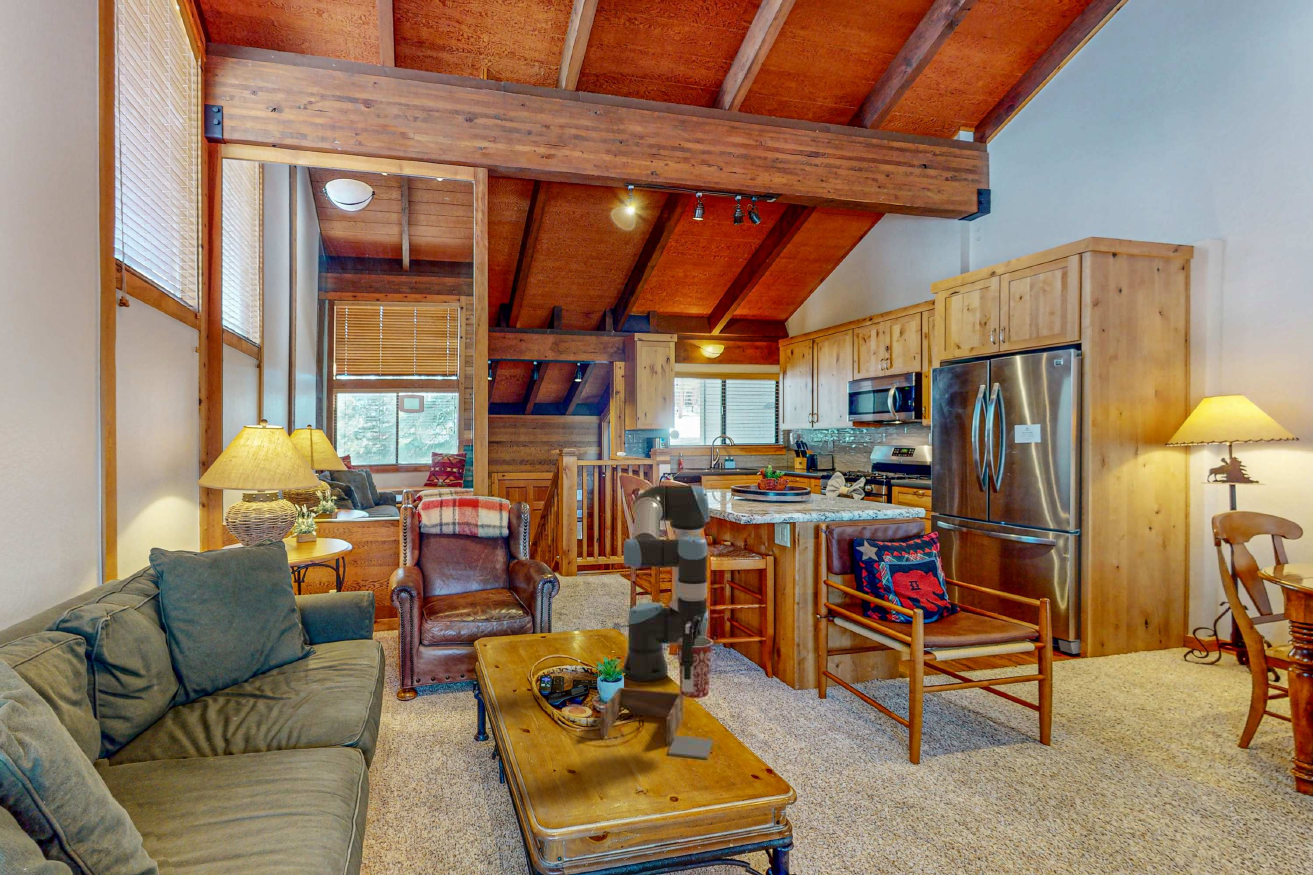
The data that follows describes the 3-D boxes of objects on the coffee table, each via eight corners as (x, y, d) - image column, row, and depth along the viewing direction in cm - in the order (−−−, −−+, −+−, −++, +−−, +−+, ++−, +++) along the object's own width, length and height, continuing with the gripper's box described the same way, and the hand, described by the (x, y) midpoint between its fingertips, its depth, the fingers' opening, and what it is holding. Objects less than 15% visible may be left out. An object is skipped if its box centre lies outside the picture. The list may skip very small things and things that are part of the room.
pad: (675, 737, 183) (675, 735, 183) (712, 741, 181) (712, 739, 181) (668, 754, 173) (668, 752, 173) (707, 759, 171) (707, 756, 171)
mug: (718, 696, 174) (719, 643, 174) (686, 702, 170) (687, 647, 170) (696, 680, 185) (696, 630, 185) (665, 684, 182) (666, 634, 181)
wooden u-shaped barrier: (619, 711, 200) (619, 687, 200) (682, 717, 196) (683, 693, 196) (600, 737, 183) (600, 711, 183) (670, 745, 178) (670, 718, 178)
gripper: (685, 587, 189) (685, 668, 189) (669, 607, 167) (668, 698, 167) (712, 588, 187) (712, 670, 187) (699, 609, 165) (698, 701, 165)
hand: (691, 683), depth 177 cm, fingers closed on mug, 10 cm apart
